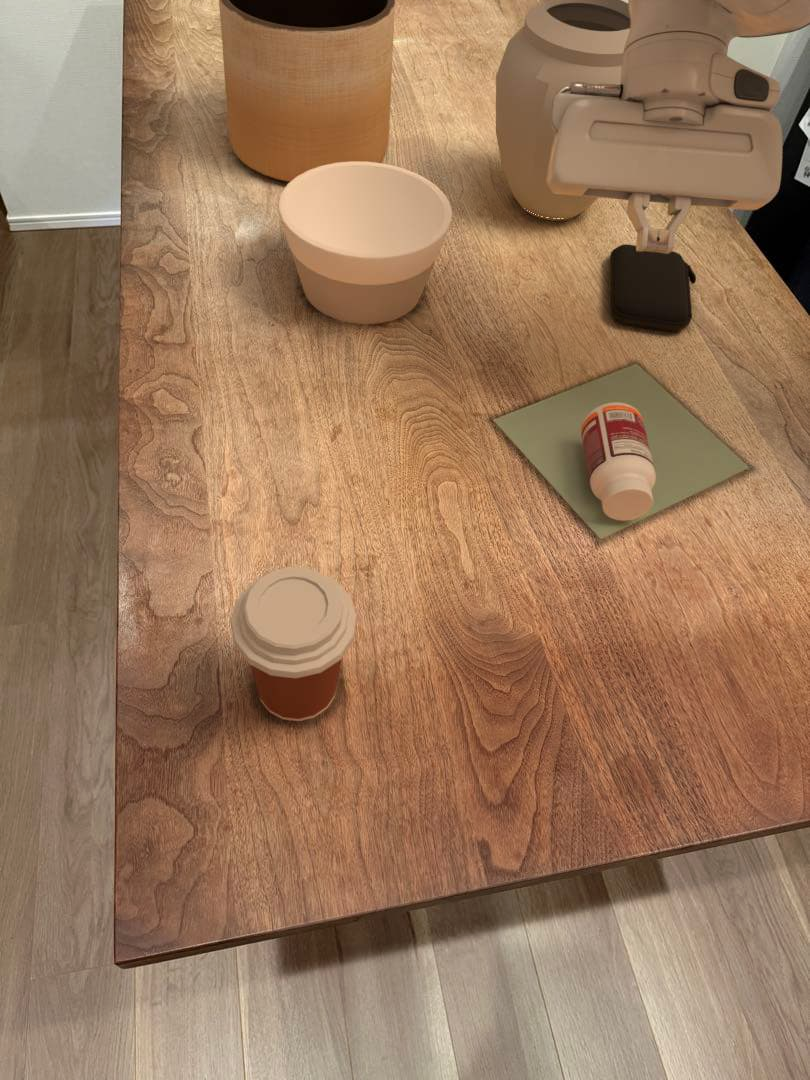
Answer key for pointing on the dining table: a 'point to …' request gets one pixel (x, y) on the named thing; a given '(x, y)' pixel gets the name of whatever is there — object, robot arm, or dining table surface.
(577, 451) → the mat
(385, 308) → the bowl
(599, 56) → the vase
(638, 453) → the pill bottle
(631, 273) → the carrying case
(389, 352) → the dining table surface
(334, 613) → the coffee cup
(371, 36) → the planter
